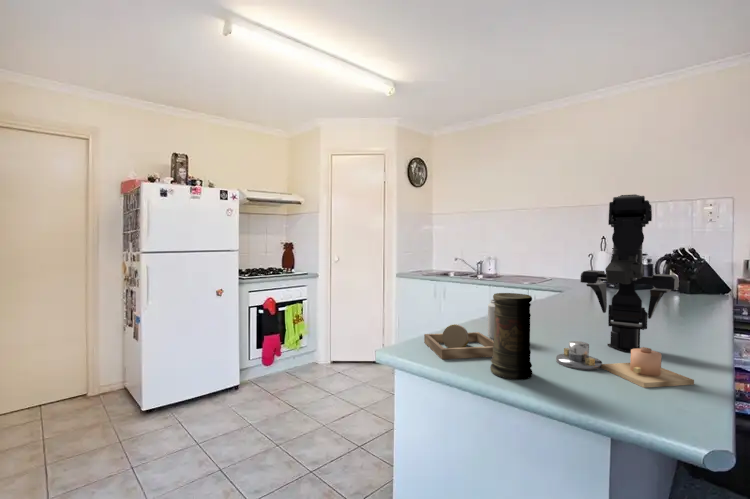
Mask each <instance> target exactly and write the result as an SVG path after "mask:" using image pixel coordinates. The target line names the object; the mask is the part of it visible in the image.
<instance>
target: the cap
mask: <svg viewBox="0 0 750 499" xmlns="http://www.w3.org/2000/svg"><path fill="white" fill-rule="evenodd" d="M640 348H641V349H631V351H630V362H629V363H630V370H631V371H633V372H635V373H638V374H642V375H648V376H659V375H661V368H662V357H663V356H662V353H661V352H658V351H656V350H652V348H649V347H644V346H643V347H640Z"/></svg>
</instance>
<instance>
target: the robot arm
mask: <svg viewBox="0 0 750 499" xmlns="http://www.w3.org/2000/svg"><path fill="white" fill-rule="evenodd" d="M645 199H646V197H645V195H640V194H635V193H634V194H621V195H618V196H614V197H612V201H610V202H609V205H608V223H607V224H608V226H610V228H613V233H612V237H611V241H612V243H613V246H612V247H613V248H612V252H613V253H612V254H611V261H610V263H609V264H608V265H607V266H606V267H605V268H604V269H605V270H597V269H596V270H595V269H594V270H592V269H588V270H584V271H583V270H582V272H581V274H580V283H582V284H583V283H584V284H586V287H590V288H591V289H592V290H593V292H594V293H595V295H596V298H597V300H598V304H599V305H600V307H601V311H602V313H603V314H605V313H607V308H608V323H607V324H608V327H611V330H610V343H607V346H608V347H611V348H614V349H616V350H619V351H621V352H631V349H641V347H640V346H641V330H642V331H645V330H647V329H648V319H649V320H650V319H652V317H653V315H654V312H655V311H656V308H657V306H658V304H659V302H660V300H661V299H662V297H663V296H664V294H668V293H670V292H671V291H672V290H673V291H674V290H676V289H678V288H679V286H680V285H679V284H680V280H679V277H678V276H677V275H676V274H666V273H665V274H662V273H661V274H660V273H657V274H653V275H652V276H644V273H645V269H644V264H643V263H644V262H643V257H644V256H643V255H644V254H643V243H644V240H645V234H644V233H643V232H644V230H643V229H644V228H646V226H647V225H649V222H652V221H653V219H652V218H653V214H652V211H653V210H652V208H653V207H652V204H651V203H650V200H645ZM606 282H607V283H609V284H614V283H618V285H617V286H618V288H617V289H618V290H617V291H616V292H615V294H613V296H612V298H611V304H608V303H607V301H608V300H607V298H608V296H607V293H608V292H607V283H606ZM636 284H637V285H638V284H639V285H649V286H650V285H652V287H653V288H651V289H650V290H649V295H650V297H649V303H648V310H646V307H643V306H642V305H643V304H642V303H643V301H642V299H641V297H640V296H639V294H638V293H637V291H636Z"/></svg>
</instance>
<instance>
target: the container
mask: <svg viewBox="0 0 750 499" xmlns="http://www.w3.org/2000/svg"><path fill="white" fill-rule="evenodd" d="M493 299H494V300H495V302H494V304H495V311H494V340H493V341H494V346H493V357H491V359H490V363H491V364H490V372H491V373H492V374H493V375H495V376H497V377H500V378H503V379H508V380H513V381H514V380H515V381H516V380H517V381H519V380H520V381H521V380H528V379H530V378H532V376H533V369H532V367H533V365H532V362H531V354H532V353H531V352H532V351H531V316H532V315H531V306H532V304H531V303H532V301H533V297H532V295H529V294H525V293H514V292H499V293H498V292H497V293H493V296H492V300H493Z"/></svg>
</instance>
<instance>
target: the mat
mask: <svg viewBox="0 0 750 499" xmlns="http://www.w3.org/2000/svg"><path fill="white" fill-rule="evenodd" d="M630 363H631V362H619V363H618V362H617V363H615V362H614V363H602V364H601V369H602V370H604V371H606V370H607V371H606V372H608V371H609V373H611V374H613V375H615V376H617V375H618V376H617V377H619V376H620V377H619V378H623V379H624V380H626V381H629V382H631V383H632V384H635V385H637V386H639V387H642V388H644V389H645V388H657V387H658V388H661V387H674V386H691V385H692V386H693V385H695V379H693V378H690V377H688V376H685V375H683V374H679V373H677V372H674V371H671V370H669V369H666V368H663V367H661V375H659V376H648V375H642V374H638V373H635V372H633V371H631V370H630Z"/></svg>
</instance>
